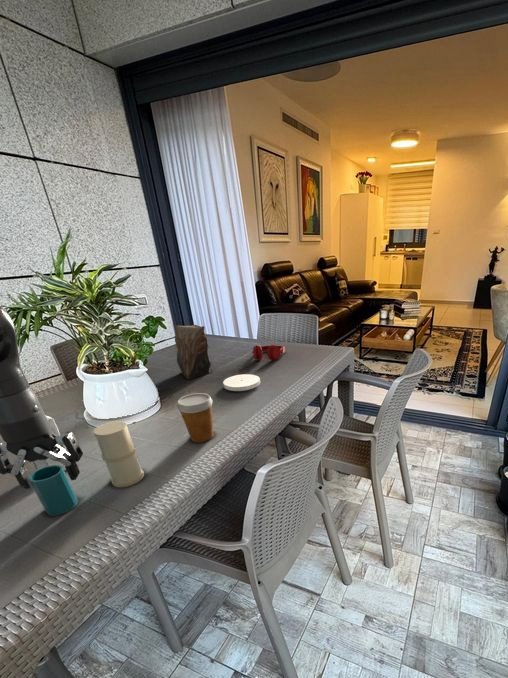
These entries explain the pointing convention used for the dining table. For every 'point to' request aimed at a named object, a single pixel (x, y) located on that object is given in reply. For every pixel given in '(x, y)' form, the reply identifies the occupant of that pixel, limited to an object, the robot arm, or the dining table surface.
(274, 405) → the dining table surface
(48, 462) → the syrup box
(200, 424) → the disposable coffee cup
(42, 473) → the teal cup
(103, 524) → the dining table surface
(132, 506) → the dining table surface
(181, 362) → the brown stone chunk
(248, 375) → the plastic lid
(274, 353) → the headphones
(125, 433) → the cup stack
